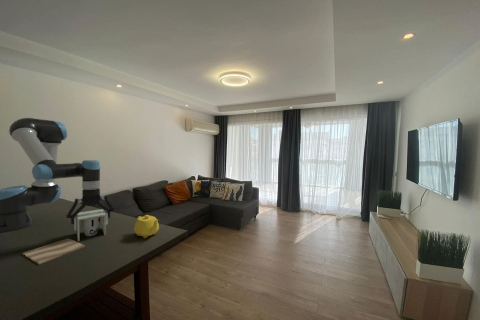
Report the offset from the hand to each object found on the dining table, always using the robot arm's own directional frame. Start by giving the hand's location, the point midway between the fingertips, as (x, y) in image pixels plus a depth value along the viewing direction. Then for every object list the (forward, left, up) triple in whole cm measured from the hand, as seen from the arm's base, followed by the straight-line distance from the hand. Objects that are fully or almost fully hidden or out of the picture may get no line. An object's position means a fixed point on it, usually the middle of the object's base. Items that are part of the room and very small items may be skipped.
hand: (91, 226), depth 103 cm
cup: (0, 0, -4) cm, 4 cm away
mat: (+5, -17, -4) cm, 18 cm away
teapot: (+27, +14, -4) cm, 31 cm away
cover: (0, 0, -4) cm, 4 cm away
